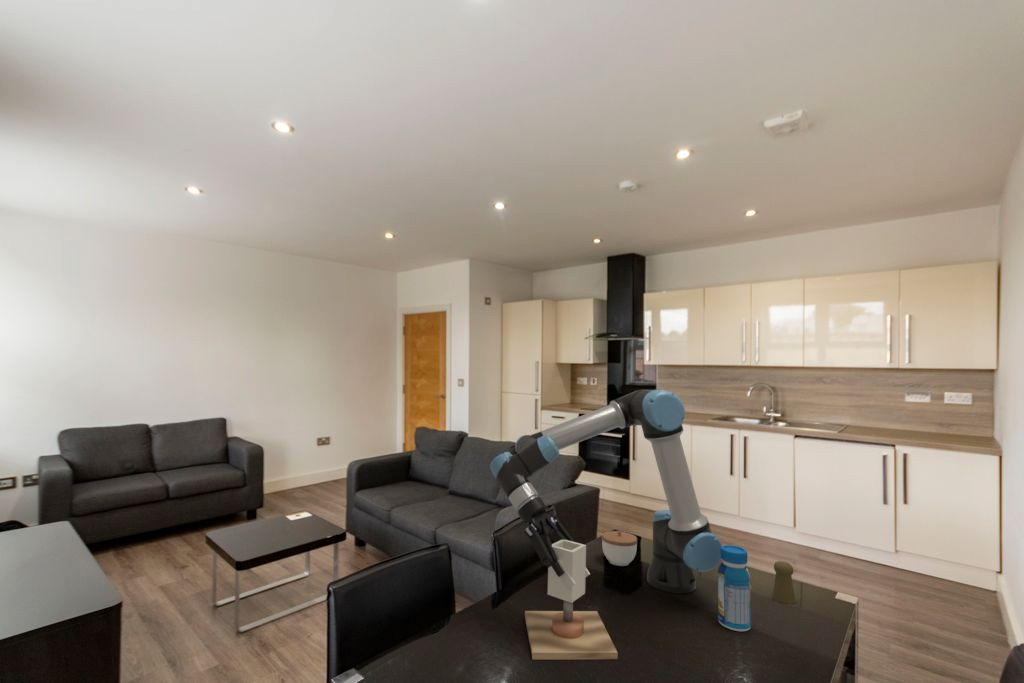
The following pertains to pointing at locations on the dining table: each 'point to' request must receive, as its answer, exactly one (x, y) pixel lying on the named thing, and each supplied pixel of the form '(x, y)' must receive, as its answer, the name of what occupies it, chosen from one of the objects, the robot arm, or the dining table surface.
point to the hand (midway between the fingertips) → (579, 581)
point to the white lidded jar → (619, 547)
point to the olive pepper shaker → (783, 583)
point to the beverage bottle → (734, 589)
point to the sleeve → (576, 566)
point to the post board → (568, 646)
